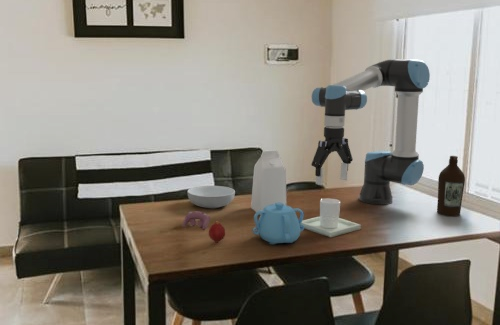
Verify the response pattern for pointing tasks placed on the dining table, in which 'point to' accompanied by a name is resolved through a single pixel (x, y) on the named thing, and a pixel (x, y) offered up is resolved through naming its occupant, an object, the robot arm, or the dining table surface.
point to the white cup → (329, 213)
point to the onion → (216, 232)
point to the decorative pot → (278, 223)
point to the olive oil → (450, 189)
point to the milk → (268, 181)
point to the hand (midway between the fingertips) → (331, 182)
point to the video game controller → (196, 215)
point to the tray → (342, 228)
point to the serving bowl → (211, 196)
